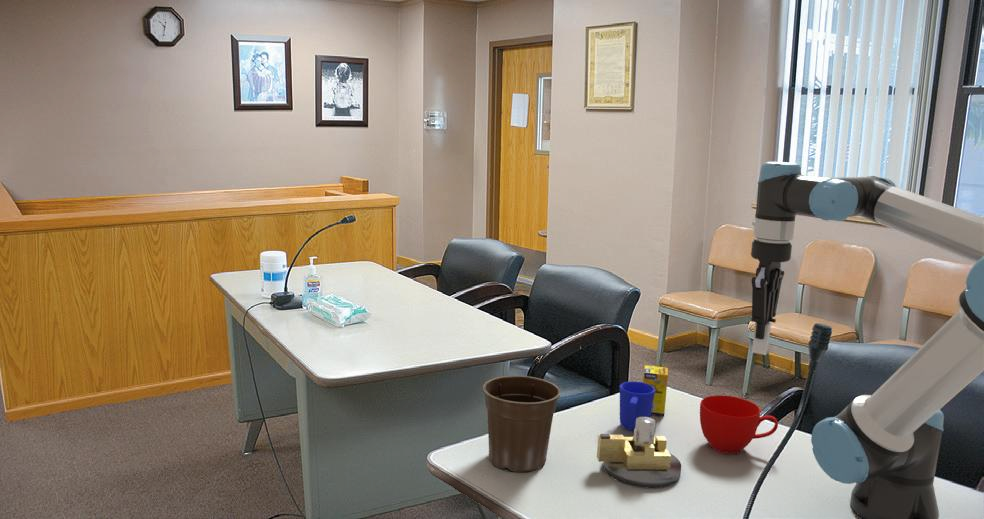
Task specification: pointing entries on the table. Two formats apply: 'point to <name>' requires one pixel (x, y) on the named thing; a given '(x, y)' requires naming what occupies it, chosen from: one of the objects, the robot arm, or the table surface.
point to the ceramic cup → (731, 422)
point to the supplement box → (657, 387)
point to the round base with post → (644, 476)
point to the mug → (635, 402)
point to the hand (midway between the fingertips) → (759, 352)
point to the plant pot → (519, 420)
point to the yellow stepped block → (622, 451)
